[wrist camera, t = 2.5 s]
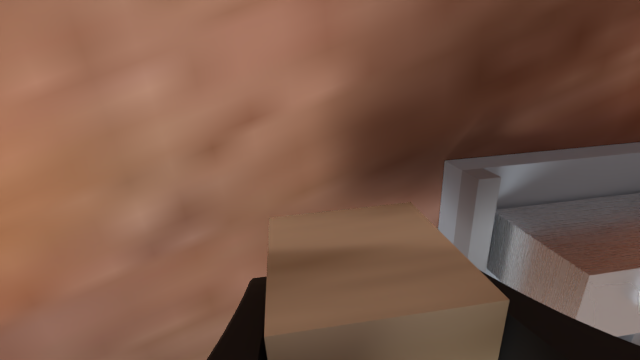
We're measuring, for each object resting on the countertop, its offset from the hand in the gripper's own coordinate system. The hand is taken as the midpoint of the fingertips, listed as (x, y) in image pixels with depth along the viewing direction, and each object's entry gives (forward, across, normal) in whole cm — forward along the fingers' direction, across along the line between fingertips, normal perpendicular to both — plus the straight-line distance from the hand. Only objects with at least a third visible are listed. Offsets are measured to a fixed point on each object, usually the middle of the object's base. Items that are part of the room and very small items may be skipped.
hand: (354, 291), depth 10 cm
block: (+2, 0, 0) cm, 2 cm away
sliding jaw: (+4, -12, +1) cm, 13 cm away
